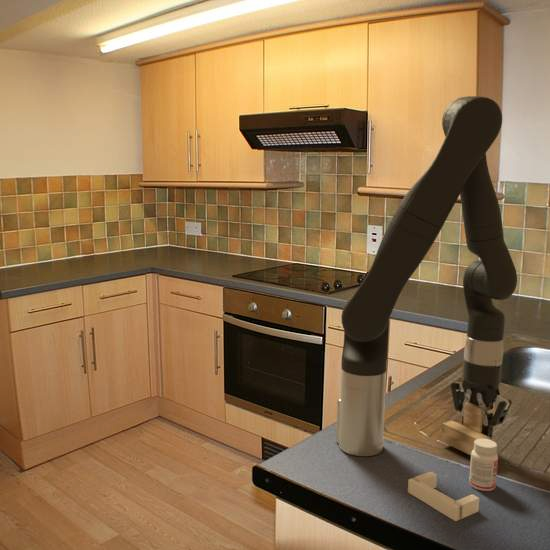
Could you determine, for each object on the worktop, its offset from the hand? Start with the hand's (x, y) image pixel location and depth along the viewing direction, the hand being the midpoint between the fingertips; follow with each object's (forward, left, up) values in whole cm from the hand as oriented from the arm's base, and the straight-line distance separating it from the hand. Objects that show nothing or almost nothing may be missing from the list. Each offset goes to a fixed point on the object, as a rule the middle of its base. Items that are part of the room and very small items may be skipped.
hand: (476, 436), depth 127 cm
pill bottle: (+11, -11, -3) cm, 16 cm away
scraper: (0, -1, -2) cm, 2 cm away
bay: (+11, -22, -3) cm, 25 cm away
